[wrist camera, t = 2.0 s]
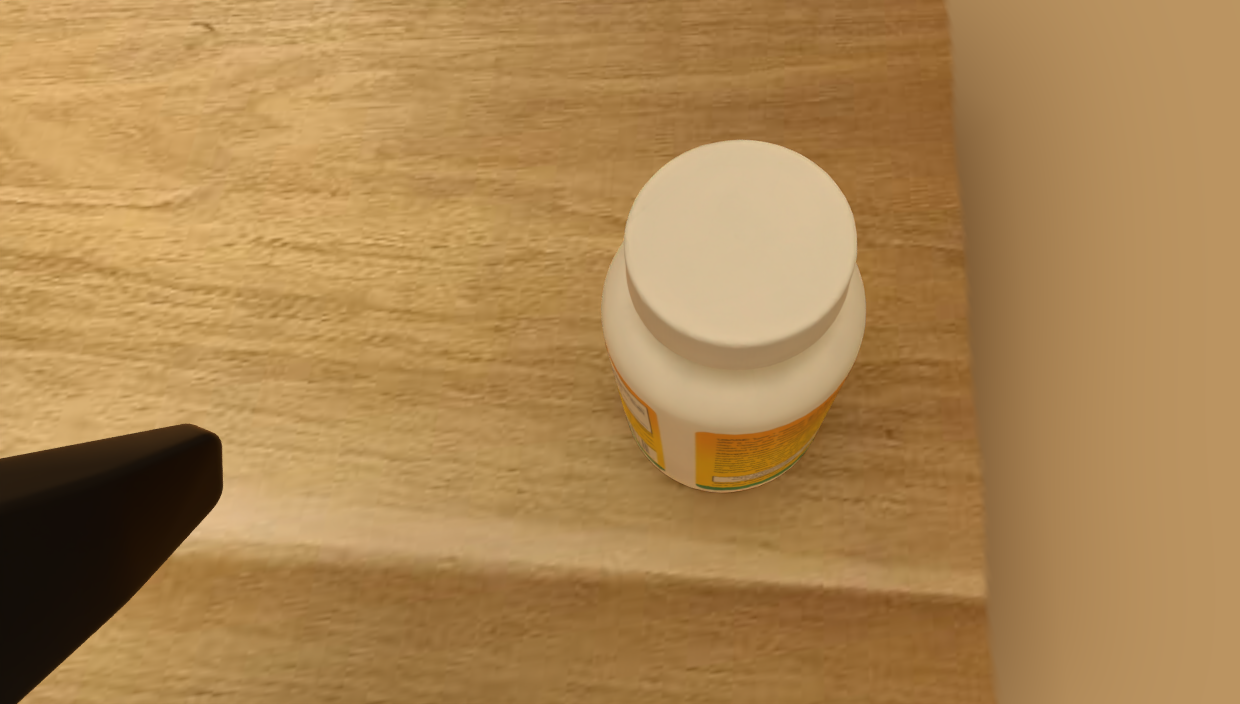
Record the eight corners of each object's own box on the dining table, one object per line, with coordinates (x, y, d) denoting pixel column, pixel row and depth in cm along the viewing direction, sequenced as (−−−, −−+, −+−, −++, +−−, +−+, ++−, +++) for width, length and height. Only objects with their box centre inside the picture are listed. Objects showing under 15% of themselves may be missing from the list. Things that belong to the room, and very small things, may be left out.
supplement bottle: (593, 443, 23) (523, 302, 14) (679, 285, 24) (664, 65, 15) (772, 532, 22) (822, 439, 13) (851, 359, 23) (946, 166, 14)
